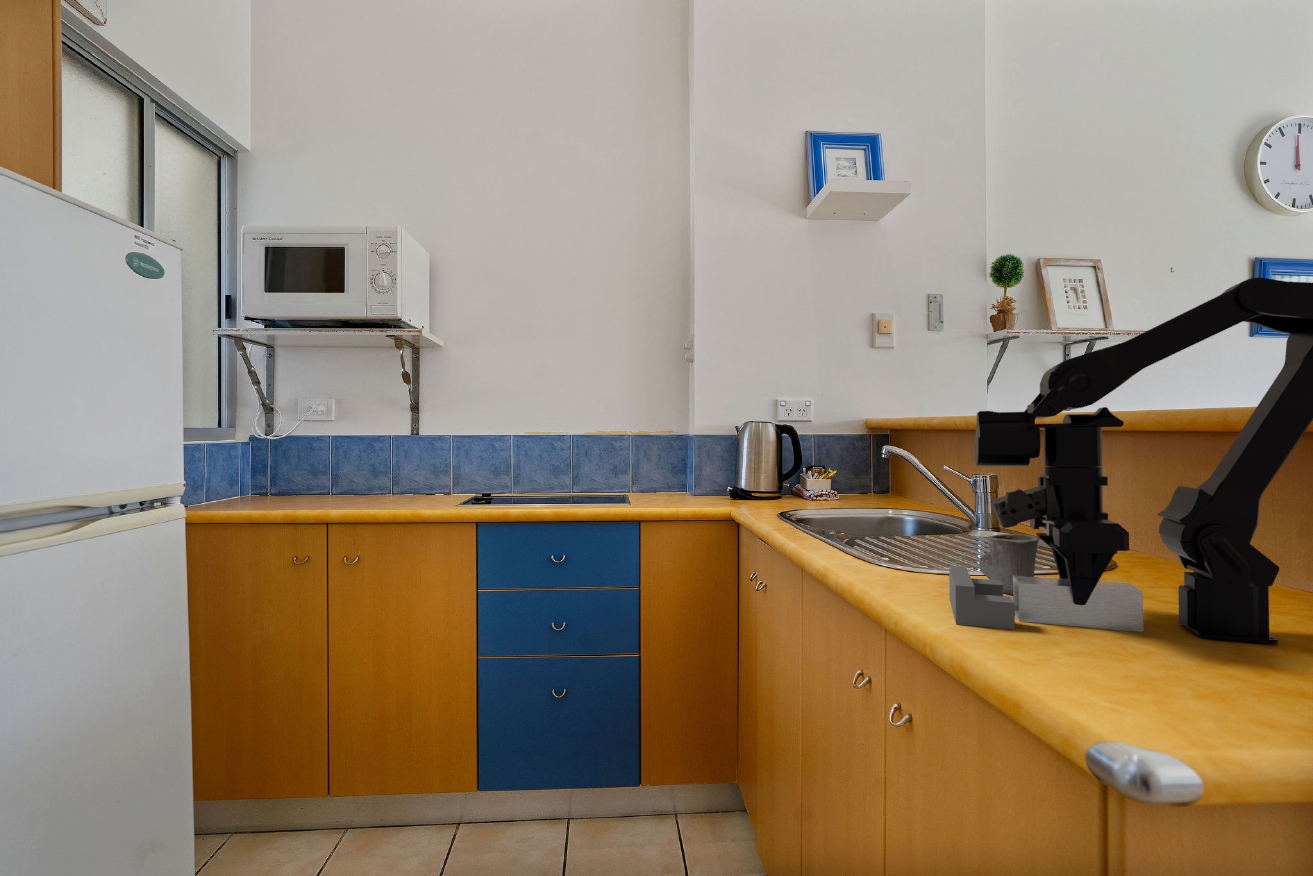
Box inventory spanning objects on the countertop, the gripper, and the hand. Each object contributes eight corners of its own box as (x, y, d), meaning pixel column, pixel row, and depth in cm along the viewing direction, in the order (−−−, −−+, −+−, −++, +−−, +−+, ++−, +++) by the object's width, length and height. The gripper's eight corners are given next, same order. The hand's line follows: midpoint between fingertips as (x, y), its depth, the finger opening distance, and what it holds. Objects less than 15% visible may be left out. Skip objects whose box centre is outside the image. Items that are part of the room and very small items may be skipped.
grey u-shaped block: (1000, 603, 82) (999, 568, 82) (1015, 629, 71) (1014, 589, 71) (949, 599, 84) (949, 565, 85) (955, 624, 73) (955, 585, 73)
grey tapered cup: (1007, 580, 96) (1006, 527, 96) (1050, 600, 84) (1049, 540, 84) (966, 579, 97) (965, 527, 97) (1002, 599, 84) (1001, 540, 84)
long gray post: (1130, 621, 74) (1129, 582, 74) (1143, 632, 69) (1142, 591, 70) (1013, 611, 78) (1012, 575, 78) (1019, 621, 74) (1018, 583, 74)
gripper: (986, 463, 86) (988, 578, 85) (1006, 469, 68) (1007, 613, 68) (1083, 464, 81) (1084, 585, 81) (1130, 470, 64) (1132, 623, 64)
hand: (1074, 599), depth 74 cm, fingers closed on long gray post, 4 cm apart
